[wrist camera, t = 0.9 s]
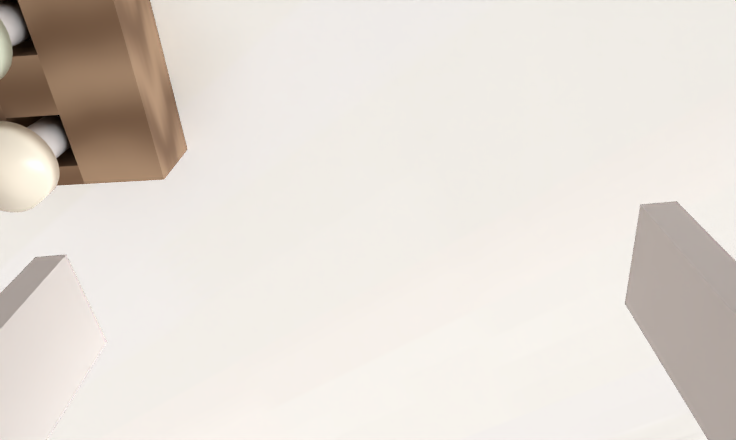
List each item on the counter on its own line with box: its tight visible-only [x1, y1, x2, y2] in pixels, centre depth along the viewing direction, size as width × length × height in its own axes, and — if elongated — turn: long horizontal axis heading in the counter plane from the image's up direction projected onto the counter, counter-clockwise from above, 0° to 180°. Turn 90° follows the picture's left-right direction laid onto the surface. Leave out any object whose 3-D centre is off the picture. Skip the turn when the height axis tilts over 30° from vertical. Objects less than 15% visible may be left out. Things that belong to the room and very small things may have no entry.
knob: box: [0, 115, 71, 212], centre depth 33 cm, size 5×5×6 cm
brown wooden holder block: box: [0, 0, 187, 185], centre depth 33 cm, size 20×14×5 cm
